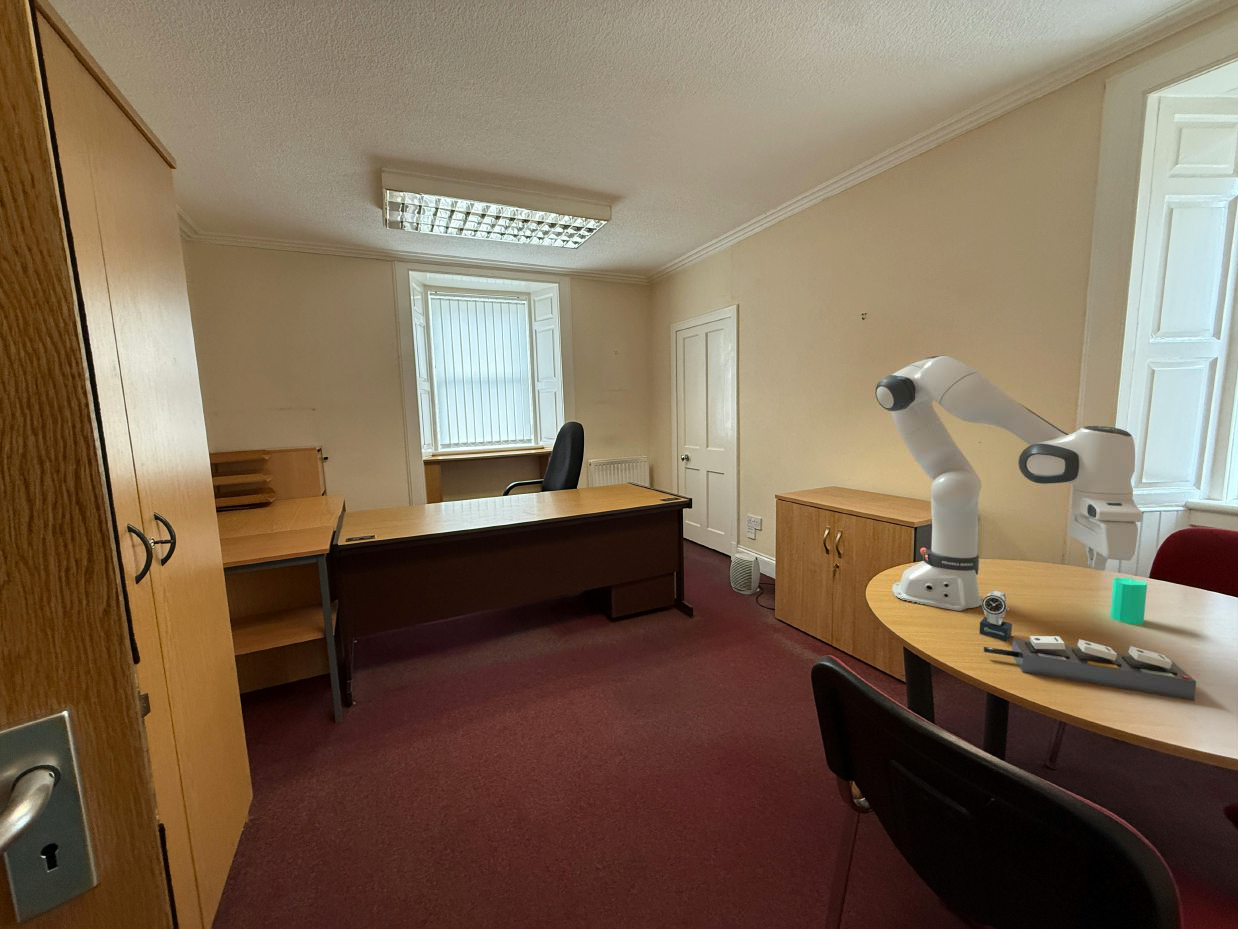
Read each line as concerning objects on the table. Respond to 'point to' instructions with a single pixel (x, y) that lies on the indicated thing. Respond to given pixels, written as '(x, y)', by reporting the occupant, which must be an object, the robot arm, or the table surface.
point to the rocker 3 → (1150, 657)
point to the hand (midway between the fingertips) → (1096, 568)
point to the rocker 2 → (1097, 649)
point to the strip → (1101, 669)
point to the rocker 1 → (1047, 642)
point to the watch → (995, 617)
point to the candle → (1128, 600)
